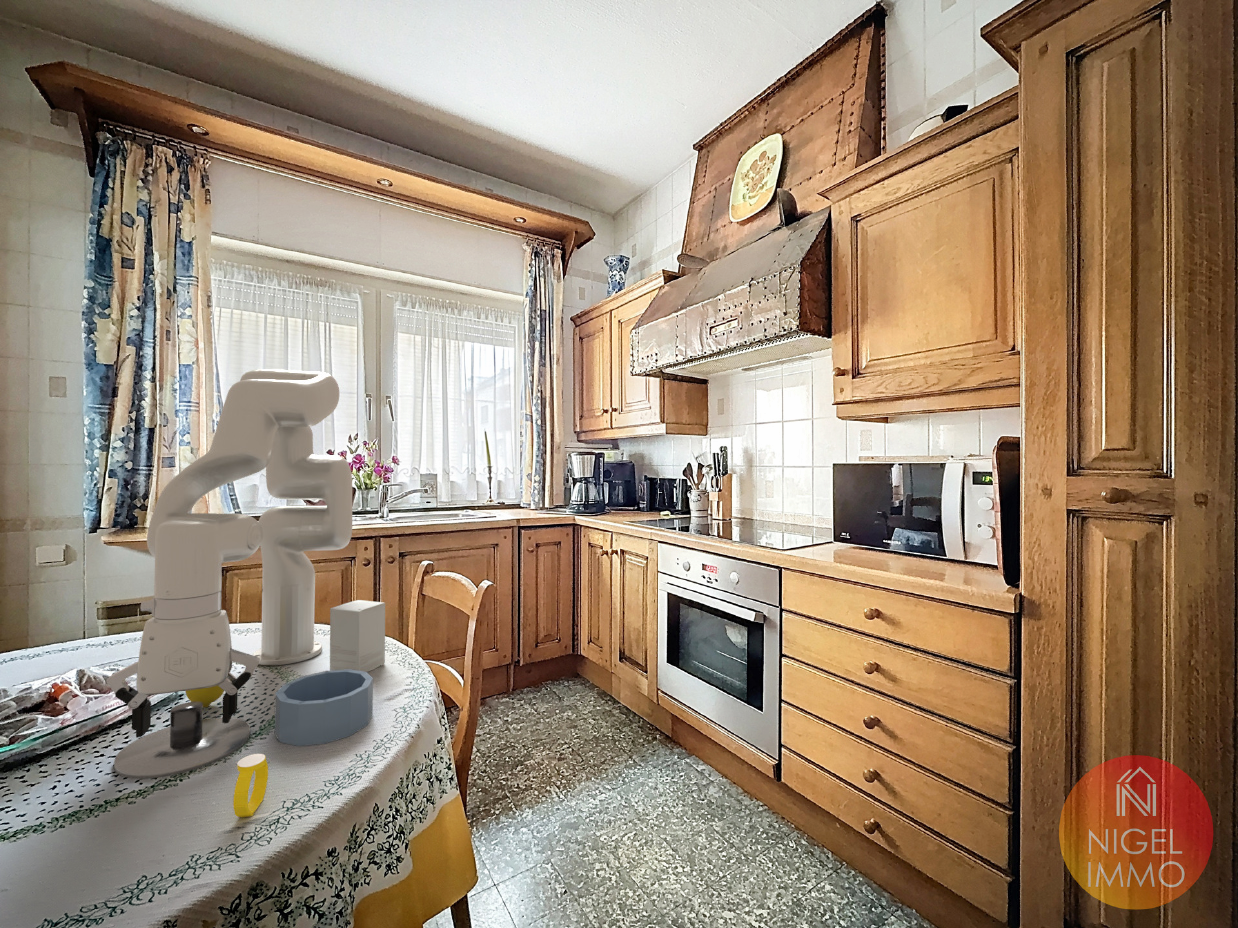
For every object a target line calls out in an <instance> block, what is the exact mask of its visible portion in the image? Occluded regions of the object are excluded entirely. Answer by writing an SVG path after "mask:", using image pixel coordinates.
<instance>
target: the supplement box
mask: <svg viewBox="0 0 1238 928" xmlns="http://www.w3.org/2000/svg"><path fill="white" fill-rule="evenodd" d="M329 610H330V611H329V615H330V616H329V617H330V618H329V620H330V621H329V622H330V623H329V671H331V670H346V669H350V670H357V671H363V672H367V673H368V672H370V671H373V670H375V669H377V668H378V667H381V666H383V665H385V663H386V659H385V658H386V654H385V653H386V602H383V601H382V602H380V601H372V600H362V599H357V600H353V601H349V602H345V603H343V604H340V605H337V606H333V607H330V609H329ZM380 665H381V666H380ZM372 669H373V670H372Z"/></svg>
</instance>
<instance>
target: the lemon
mask: <svg viewBox="0 0 1238 928" xmlns="http://www.w3.org/2000/svg"><path fill="white" fill-rule="evenodd" d="M224 692H225V691H224V690H223V689H222V688H220V687H219V686H218V685H217V686H213V687H209V688H202V689H195V690H188V691H185V695H186V698H187V699H188V700H189V702H195V701H197V702H202V703H203V708H208V707H210V706H211V704H212V703H214V702H216V701H217V700H218V699H220V698H221V696H223V695H224V694H225V693H224Z"/></svg>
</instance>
